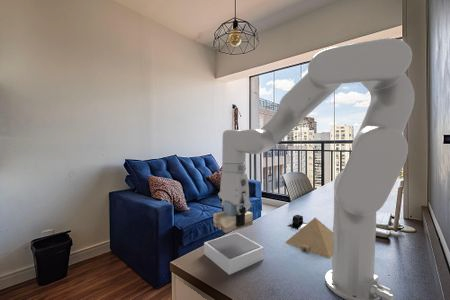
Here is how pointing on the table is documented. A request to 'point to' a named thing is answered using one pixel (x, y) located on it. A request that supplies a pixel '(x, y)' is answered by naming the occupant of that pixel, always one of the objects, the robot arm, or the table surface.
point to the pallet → (230, 221)
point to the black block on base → (297, 222)
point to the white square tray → (233, 252)
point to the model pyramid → (314, 238)
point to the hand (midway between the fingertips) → (232, 221)
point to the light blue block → (230, 209)
